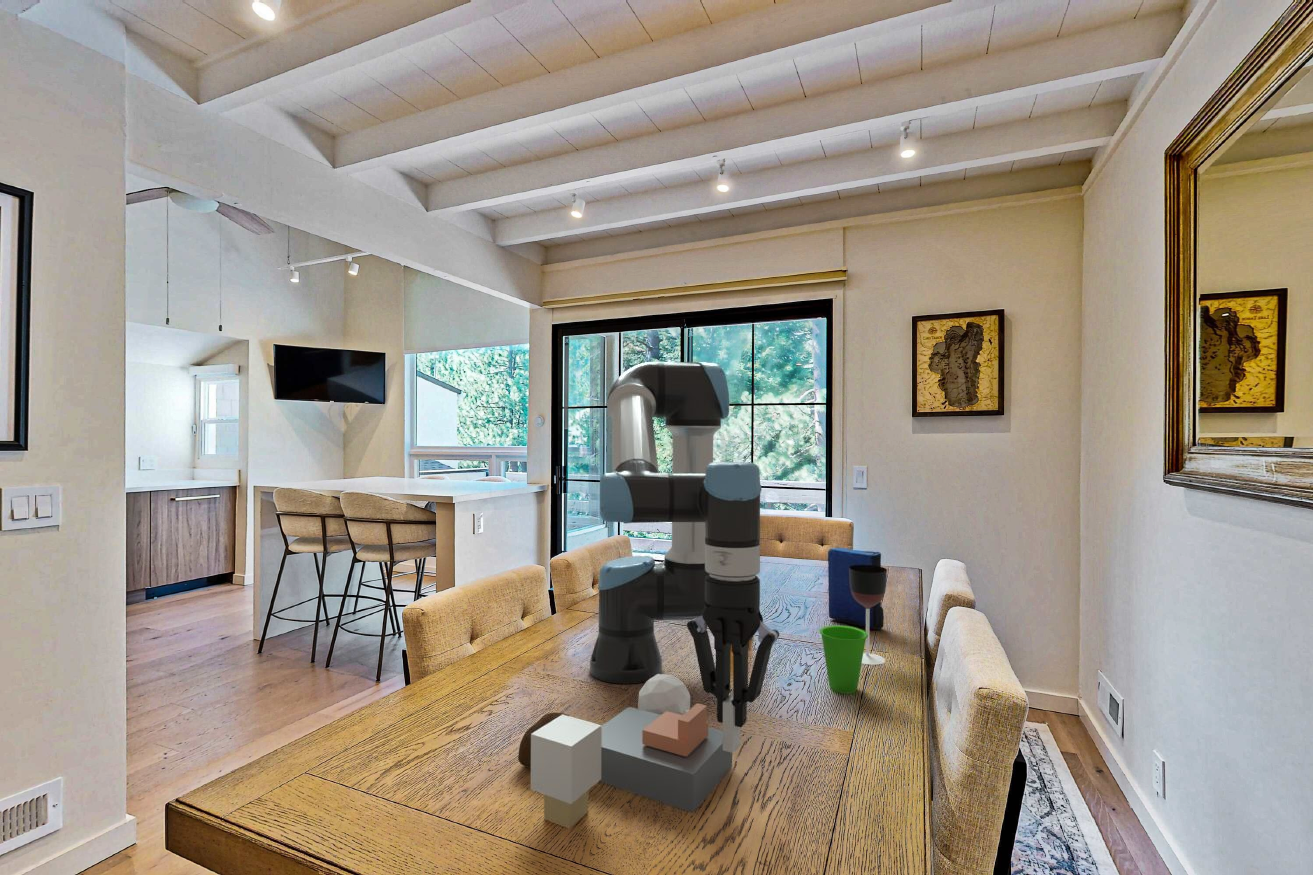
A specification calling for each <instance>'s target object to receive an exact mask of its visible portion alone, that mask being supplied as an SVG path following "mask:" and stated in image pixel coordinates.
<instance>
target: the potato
mask: <svg viewBox="0 0 1313 875" xmlns="http://www.w3.org/2000/svg"><path fill="white" fill-rule="evenodd" d="M562 714H563V715H566V716H570V715H569V714H566V713H563V712H554V711H553V712H548V713H546V714H544V715H543V716H541V718H540V719H539V720H537V721H536V723H534V724H532V726H530V727H529V728H528V729H527V730H526V731H525V732H524V734H523V736H522V738H521V741H520V744H519V747H518V748H519V749H518V756H517V758H518V762H519V764H521V765H522V766H523V767H525V768H530V769H531V734H532V733H533V732H535V731H537V730H538V729H540V728H541V727H543V726H545V725H546V724H548V723H550V722H551V721H553V720H554V719H556V718H558V717H559V716H561V715H562Z"/></svg>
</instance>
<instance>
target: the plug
mask: <svg viewBox="0 0 1313 875" xmlns="http://www.w3.org/2000/svg"><path fill="white" fill-rule="evenodd" d="M601 726H602V724H598V723H594V722H591V721H587V720H584V719H581V718H580V719H579V718H576V717H573V716H570V715H569V716H566V715H563V714H562V715H561V716H559V717H558V718H556V719H554V720H553V721H551V722H550V723H548V724H546V725H545V726H543V727H541V728H540V729H538V730H537V731H535V732H533V733H532V734H531V768H530V790H531V791H534V792H537V793H540V794H542V795H544V796H543V798H544V799H543V802H544V804H543V805H544V806H543V820H546V821H548V822H551V823H554V824H557V825H559V826H562V827H564V828H567V829H571V828H572V827H573V826H574V825H575V824H577V823H578V822H579V821H580V820H581V819H582V818H583V817H584V816H585V815H586V814H588V813H589V790H590V789H591V788H593V787H594V786H595V785H597V783H599V781H600V780H601Z"/></svg>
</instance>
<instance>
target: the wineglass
mask: <svg viewBox="0 0 1313 875" xmlns="http://www.w3.org/2000/svg"><path fill="white" fill-rule="evenodd" d="M887 574H888V570H887V568H885V567H883V566H881V567H880V566H874V565H853V566H850V567H849V578H850V588H851V592H852V595H853V597H854V599H855V600H856V601H857V602H858V603H859V604H861V605H863V606H864V607H865V608H866V627H865V632H866V633H867V634H868V637H867V638H866V640H865V652H863V658H862V664H864V665H872V666H874V665H882V664H885V663H886V658H884V657H883V656H881V655H877V654H875V653H870V629H869V620H870V608H871V607H873V606H875V605H877V604H878V603H879V602H881V603H882V601H883V599H884V597H885V593H886V589H887Z"/></svg>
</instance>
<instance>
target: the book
mask: <svg viewBox="0 0 1313 875" xmlns="http://www.w3.org/2000/svg"><path fill="white" fill-rule="evenodd" d="M827 563H828V564H827V570H828V574H827V575H828V576H827V577H828V578H827V579H828V617H829V618H830V619H831V620H834V621H838V622H842V623H845V624H850V625H851V626H852V625H853V626H858V627H862V628H866V608H865V607H864V606H863V605H861V604H859V603H858V602H857V601H856V600H855V599H854V597H853V595H852V592H851V588H850V578H849V567H850V566H853V565H874V566H880V567H882V553H881V552H879V551H872V550H871V551H870V550H869V551H868V550H865V551H864V550H857V549H852V548H851V549H849V548H845V547H839V546H837V547H833V548H830V549H828V552H827ZM884 616H885V615H884V608H883V607H882V601H881V602H879V603H878V604H877V605H875V606H873V607H871V608H870V620H869V630H870V629H871V630H879V629H883V628H884V622H885V621H884V620H885V619H884V618H885V617H884Z"/></svg>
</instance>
